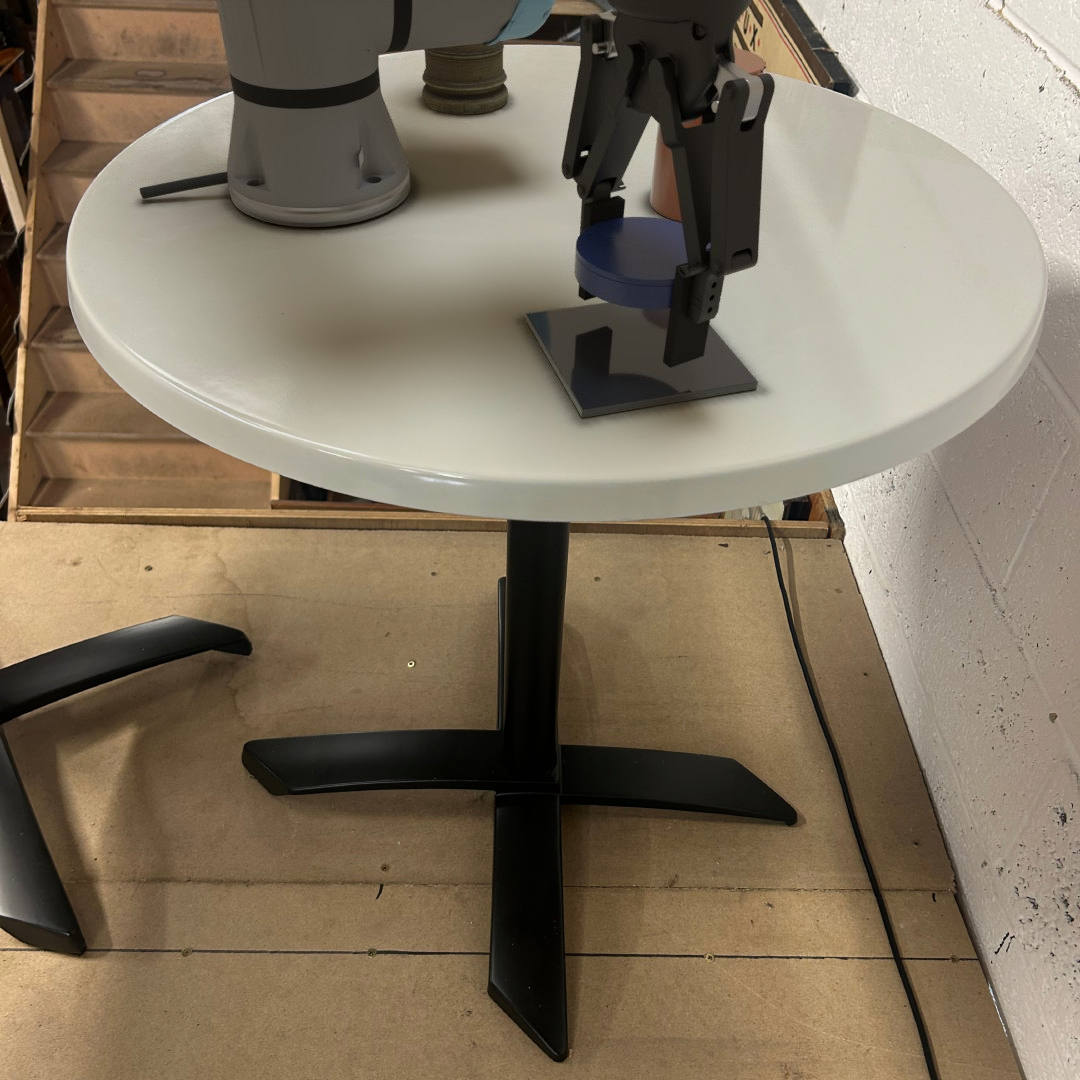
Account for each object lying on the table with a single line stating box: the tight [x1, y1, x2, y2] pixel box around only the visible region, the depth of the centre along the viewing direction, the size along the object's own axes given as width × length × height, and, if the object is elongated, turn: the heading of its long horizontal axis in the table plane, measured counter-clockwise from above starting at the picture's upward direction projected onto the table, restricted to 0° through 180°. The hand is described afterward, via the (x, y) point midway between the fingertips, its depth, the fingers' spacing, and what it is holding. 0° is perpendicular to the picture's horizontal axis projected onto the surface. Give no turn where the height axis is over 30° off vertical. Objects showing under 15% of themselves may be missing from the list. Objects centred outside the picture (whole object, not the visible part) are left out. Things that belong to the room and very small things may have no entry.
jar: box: [649, 47, 767, 223], centre depth 75 cm, size 8×8×12 cm
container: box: [421, 41, 509, 115], centre depth 90 cm, size 9×9×18 cm
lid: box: [574, 216, 711, 309], centre depth 57 cm, size 9×9×2 cm
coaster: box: [525, 301, 759, 419], centre depth 62 cm, size 12×12×1 cm
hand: (638, 324), depth 60 cm, fingers closed on lid, 9 cm apart
